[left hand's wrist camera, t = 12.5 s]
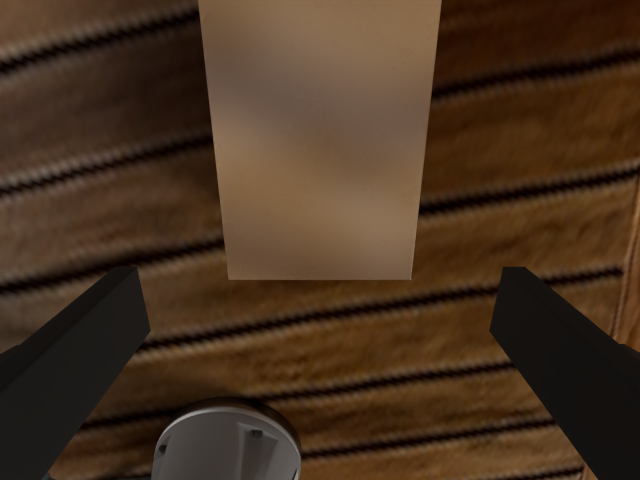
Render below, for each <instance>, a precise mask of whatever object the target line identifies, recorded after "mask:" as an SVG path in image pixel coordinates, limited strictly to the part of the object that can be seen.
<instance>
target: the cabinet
mask: <svg viewBox="0 0 640 480" xmlns="http://www.w3.org/2000/svg"><path fill="white" fill-rule="evenodd" d="M441 1H442V0H198V4H199V13H200V22H201V31H202V40H203V50H204V59H205V68H206V77H207V86H208V95H209V104H210V114H211V123H212V132H213V141H214V150H215V159H216V169H217V178H218V187H219V196H220V205H221V214H222V223H223V233H224V242H225V251H226V260H227V269H228V278H229V280H411V274H412V265H413V256H414V246H415V237H416V228H417V219H418V210H419V201H420V192H421V183H422V174H423V164H424V155H425V146H426V137H427V128H428V119H429V110H430V101H431V92H432V82H433V73H434V64H435V55H436V46H437V37H438V28H439V19H440V10H441Z"/></svg>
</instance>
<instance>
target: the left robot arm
mask: <svg viewBox="0 0 640 480" xmlns="http://www.w3.org/2000/svg"><path fill="white" fill-rule="evenodd" d="M150 331H151V330H150V326H149V321H148V316H147V312H146V307H145V303H144V298H143V293H142V289H141V284H140V280H139V275H138V271H137V267H115V268H113V269H112V270H111V271H110V272H108V273H107V274H106V275H105V276H104V277H102V278H101V279H100V280H99V281H97V282H96V283H95V284H94V285H93V286H91V287H90V288H89V289H88V290H86V291H85V292H84V293H83V294H82V295H80V296H79V297H78V298H77V299H75V300H74V301H73V302H72V303H71V304H69V305H68V306H67V307H66V308H64V309H63V310H62V311H61V312H60V313H58V314H57V315H56V316H55V317H53V318H52V319H51V320H50V321H49V322H47V323H46V324H45V325H44V326H42V327H41V328H40V329H39V330H38V331H36V332H35V333H34V334H33V335H31V336H30V337H29V338H28V339H27V340H25V341H24V342H23V343H22V344H20V345H16V346H14V347H13V348H11V349H9V350H7V351H5V352H3V353H2V354H0V480H55V479H53V478H51V477H50V474H49V473H48V470H49V469H50V468H51V466H52V465H53V464H54V462H55V461H56V459H57V458H58V457H59V455H60V454H61V453H62V451H63V450H64V449H65V447H66V446H67V444H68V443H69V442H70V440H71V439H72V438H73V436H74V435H75V434H76V432H77V431H78V429H79V428H80V427H81V425H82V424H83V423H84V421H85V420H86V418H87V417H88V416H89V414H90V413H91V412H92V410H93V409H94V408H95V406H96V405H97V403H98V402H99V401H100V399H101V398H102V397H103V395H104V394H105V393H106V391H107V390H108V388H109V387H110V386H111V384H112V383H113V382H114V380H115V379H116V377H117V376H118V375H119V373H120V372H121V371H122V369H123V368H124V367H125V365H126V364H127V362H128V361H129V360H130V358H131V357H132V356H133V354H134V353H135V352H136V350H137V349H138V347H139V346H140V345H141V343H142V342H143V341H144V339H145V338H146V336H147V335H148V334H149V332H150ZM489 331H490V332H491V334H492V335H493V336H494V338H495V339H496V341H497V342H498V343H499V345H500V346H501V347H502V349H503V350H504V352H505V353H506V354H507V356H508V357H509V358H510V360H511V361H512V362H513V364H514V365H515V367H516V368H517V369H518V371H519V372H520V373H521V375H522V376H523V377H524V379H525V380H526V382H527V383H528V384H529V386H530V387H531V388H532V390H533V391H534V393H535V394H536V395H537V397H538V398H539V399H540V401H541V402H542V403H543V405H544V406H545V408H546V409H547V410H548V412H549V413H550V414H551V416H552V417H553V418H554V420H555V421H556V423H557V424H558V425H559V427H560V428H561V429H562V431H563V432H564V434H565V435H566V436H567V438H568V439H569V440H570V442H571V443H572V444H573V446H574V447H575V449H576V450H577V451H578V453H579V454H580V455H581V457H582V458H583V460H584V461H585V462H586V464H587V465H588V466H589V468H590V469H591V470H592V472H593V473H594V475H595V476H596V477H597V479H598V480H640V353H639V352H638V351H636V350H634V349H632V348H630V347H628V346H626V345H625V344H618V343H617V342H616V341H615V340H613V339H612V338H611V337H610V336H609V335H607V334H606V333H605V332H604V331H602V330H601V329H600V328H599V327H598V326H596V325H595V324H594V323H593V322H591V321H590V320H589V319H588V318H587V317H585V316H584V315H583V314H582V313H580V312H579V311H578V310H577V309H576V308H574V307H573V306H572V305H571V304H569V303H568V302H567V301H566V300H565V299H563V298H562V297H561V296H560V295H558V294H557V293H556V292H555V291H554V290H552V289H551V288H550V287H549V286H547V285H546V284H545V283H544V282H543V281H541V280H540V279H539V278H538V277H536V276H535V275H534V274H533V273H532V272H530V271H529V270H528V269H527V268H525V267H503V271H502V275H501V280H500V284H499V289H498V293H497V298H496V303H495V307H494V312H493V316H492V321H491V326H490V330H489ZM301 455H302V450H301V443H300V440H299V437H298V435H297V433H296V432H295V430H294V429H293V427H292V426H291V425H290V424H289V423H288V422H287V421H286V420H285V419H284V418H283V417H282V416H280V415H279V414H278V413H276V412H274V411H273V410H271V409H269V408H267V407H265V406H263V405H260V404H257V403H254V402H251V401H247V400H242V399H234V398H215V399H208V400H204V401H200V402H196V403H194V404H191V405H189V406H187V407H185V408H183V409H182V410H180V411H179V412H177V413H176V414H175V415H174V416H173V417H172V418H171V419H170V420H169V421H168V423H167V424H166V426H165V428H164V430H163V432H162V434H161V436H160V438H159V441H158V443H157V445H156V449H155V454H154V461H153V469H152V476H147V477H128V478H120V479H117V480H298V478H299V475H300V470H301Z"/></svg>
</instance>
